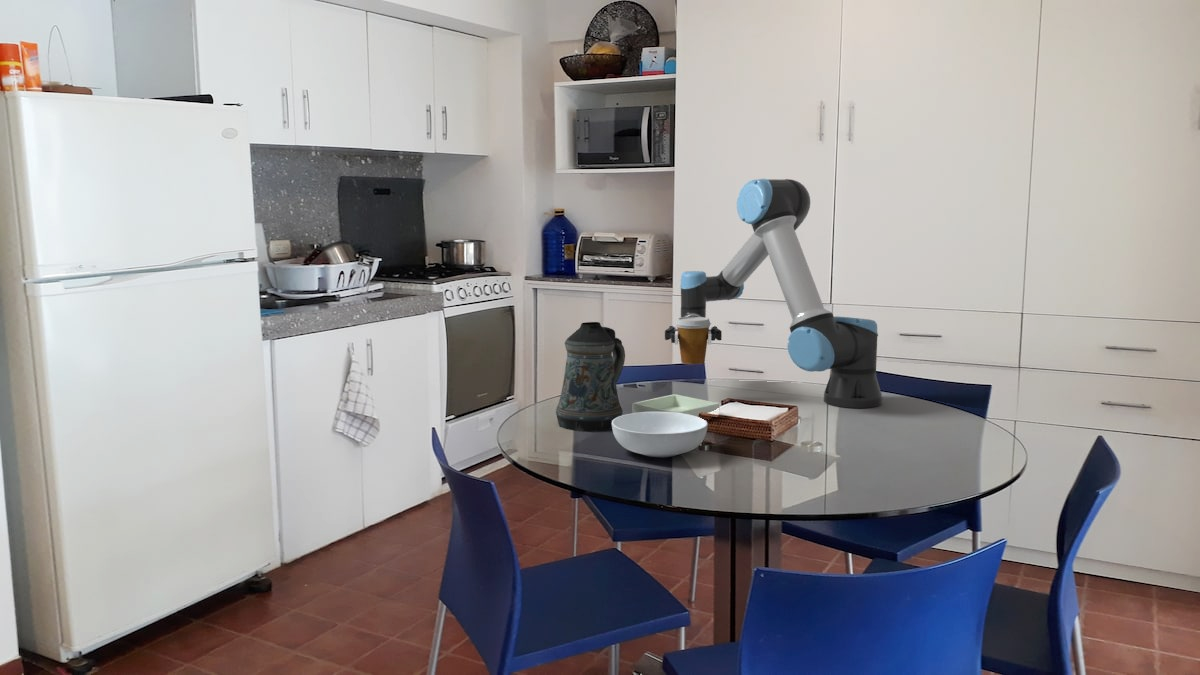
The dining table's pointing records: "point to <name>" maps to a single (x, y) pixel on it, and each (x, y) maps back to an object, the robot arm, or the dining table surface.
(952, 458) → the dining table surface
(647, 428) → the serving bowl
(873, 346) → the robot arm
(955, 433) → the dining table surface
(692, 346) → the disposable coffee cup
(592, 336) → the beer stein
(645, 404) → the tray
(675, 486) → the dining table surface
